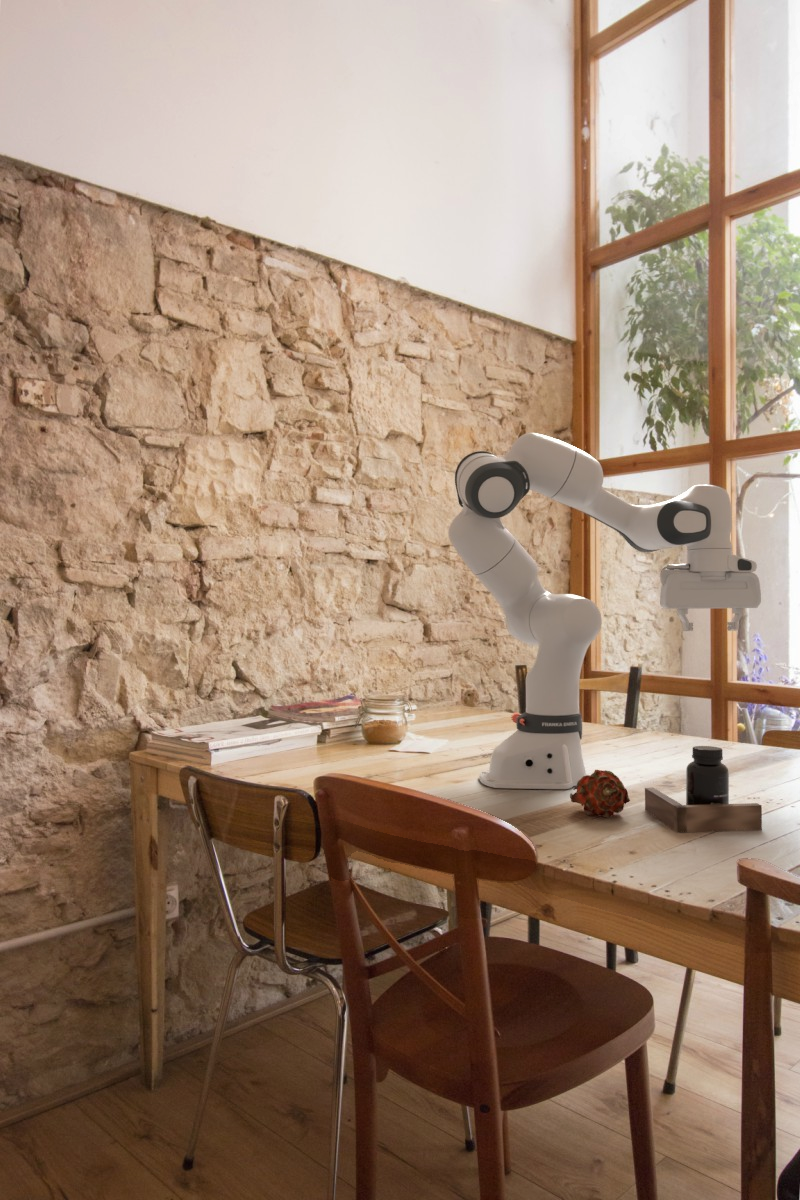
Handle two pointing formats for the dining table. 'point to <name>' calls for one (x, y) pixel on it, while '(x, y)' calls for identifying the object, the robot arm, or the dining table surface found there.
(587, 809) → the dragon fruit
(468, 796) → the dining table surface
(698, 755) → the supplement bottle
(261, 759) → the dining table surface
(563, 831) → the dining table surface
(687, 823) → the corner arena
